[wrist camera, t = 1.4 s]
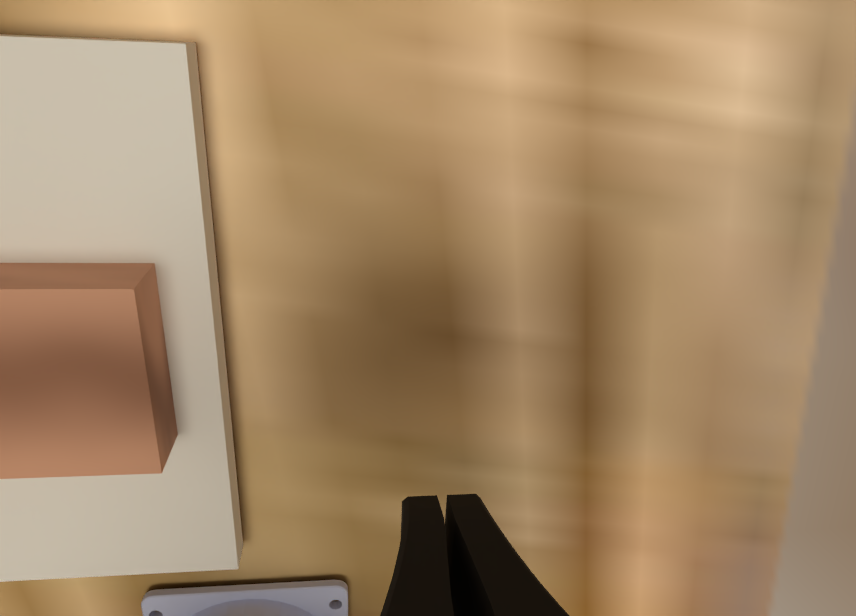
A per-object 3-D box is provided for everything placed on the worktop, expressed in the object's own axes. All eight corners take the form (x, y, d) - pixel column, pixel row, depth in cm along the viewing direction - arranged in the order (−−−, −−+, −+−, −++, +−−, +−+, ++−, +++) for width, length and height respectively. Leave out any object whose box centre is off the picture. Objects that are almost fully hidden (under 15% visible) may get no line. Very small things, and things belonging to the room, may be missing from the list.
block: (177, 434, 21) (161, 473, 19) (-87, 442, 20) (-129, 483, 18) (154, 263, 19) (133, 289, 17) (-147, 262, 18) (-203, 289, 16)
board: (243, 545, 25) (238, 569, 24) (-125, 563, 23) (-149, 589, 22) (195, 42, 18) (185, 43, 17) (-343, 19, 16) (-392, 19, 15)
